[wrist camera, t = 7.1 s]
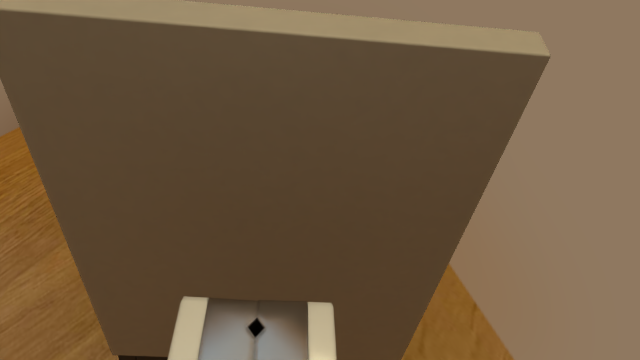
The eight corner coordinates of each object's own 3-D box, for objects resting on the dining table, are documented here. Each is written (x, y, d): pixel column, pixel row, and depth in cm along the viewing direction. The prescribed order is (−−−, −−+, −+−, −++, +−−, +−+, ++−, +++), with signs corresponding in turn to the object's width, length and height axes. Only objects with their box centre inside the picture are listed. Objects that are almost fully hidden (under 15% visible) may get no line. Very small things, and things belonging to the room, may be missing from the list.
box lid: (-11, -18, 12) (-31, 5, 11) (539, 31, 13) (552, 55, 12) (117, 334, 24) (112, 355, 23) (396, 344, 25) (398, 365, 24)
